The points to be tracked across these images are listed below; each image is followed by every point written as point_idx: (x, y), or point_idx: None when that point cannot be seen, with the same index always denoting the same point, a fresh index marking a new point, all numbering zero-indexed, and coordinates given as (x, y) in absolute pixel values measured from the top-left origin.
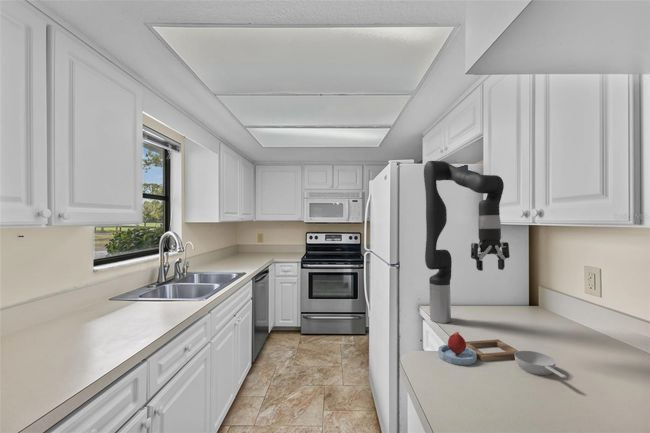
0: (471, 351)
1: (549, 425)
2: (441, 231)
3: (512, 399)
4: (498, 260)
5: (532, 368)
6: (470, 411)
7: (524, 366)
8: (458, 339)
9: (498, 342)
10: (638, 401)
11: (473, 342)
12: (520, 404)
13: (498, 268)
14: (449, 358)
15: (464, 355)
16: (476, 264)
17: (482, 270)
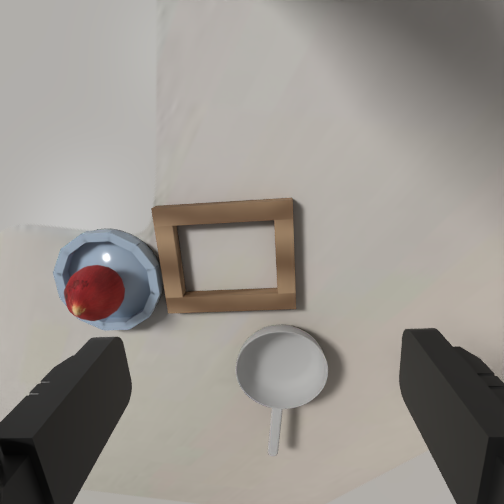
0: (150, 286)
1: (168, 496)
2: None
3: (151, 442)
4: (472, 439)
5: (251, 389)
6: None
7: (241, 375)
8: (83, 319)
9: (275, 227)
10: (370, 473)
11: (191, 217)
12: (157, 455)
13: (406, 335)
14: None
15: (130, 286)
16: (25, 401)
17: (130, 392)
